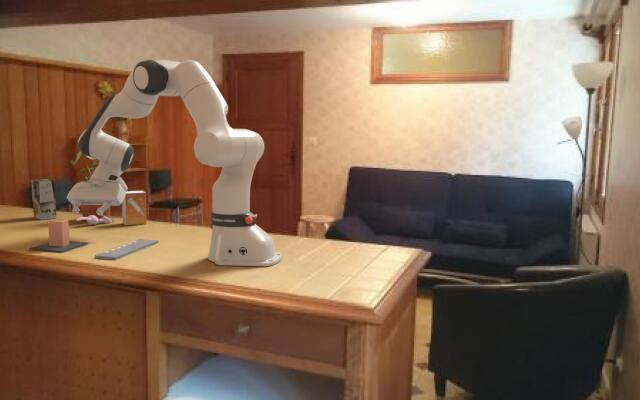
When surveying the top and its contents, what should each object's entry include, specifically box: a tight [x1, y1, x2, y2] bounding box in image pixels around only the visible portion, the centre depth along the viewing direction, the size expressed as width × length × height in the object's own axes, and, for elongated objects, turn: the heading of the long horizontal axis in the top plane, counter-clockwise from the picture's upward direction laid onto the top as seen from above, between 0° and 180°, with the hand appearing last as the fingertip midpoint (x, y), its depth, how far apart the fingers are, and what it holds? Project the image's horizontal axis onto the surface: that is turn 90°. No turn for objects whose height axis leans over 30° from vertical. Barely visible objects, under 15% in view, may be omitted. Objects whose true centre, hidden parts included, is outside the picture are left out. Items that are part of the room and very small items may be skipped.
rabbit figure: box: [75, 214, 115, 226], centre depth 204 cm, size 6×6×15 cm
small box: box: [121, 190, 147, 226], centre depth 206 cm, size 8×6×13 cm
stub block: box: [47, 219, 70, 247], centre depth 165 cm, size 5×3×8 cm, turn 78°
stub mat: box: [28, 240, 89, 254], centre depth 166 cm, size 12×12×1 cm
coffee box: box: [30, 178, 57, 221], centre depth 215 cm, size 9×6×16 cm
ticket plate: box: [94, 238, 159, 261], centre depth 164 cm, size 7×24×1 cm, turn 168°
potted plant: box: [69, 151, 111, 219], centre depth 211 cm, size 16×15×35 cm
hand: (86, 213), depth 176 cm, fingers open, 8 cm apart
